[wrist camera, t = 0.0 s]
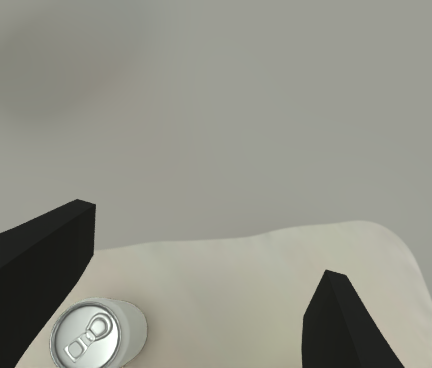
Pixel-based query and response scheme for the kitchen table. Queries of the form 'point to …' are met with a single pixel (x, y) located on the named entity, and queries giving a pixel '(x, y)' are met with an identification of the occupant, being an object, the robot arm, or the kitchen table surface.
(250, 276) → the kitchen table surface
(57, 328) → the can
